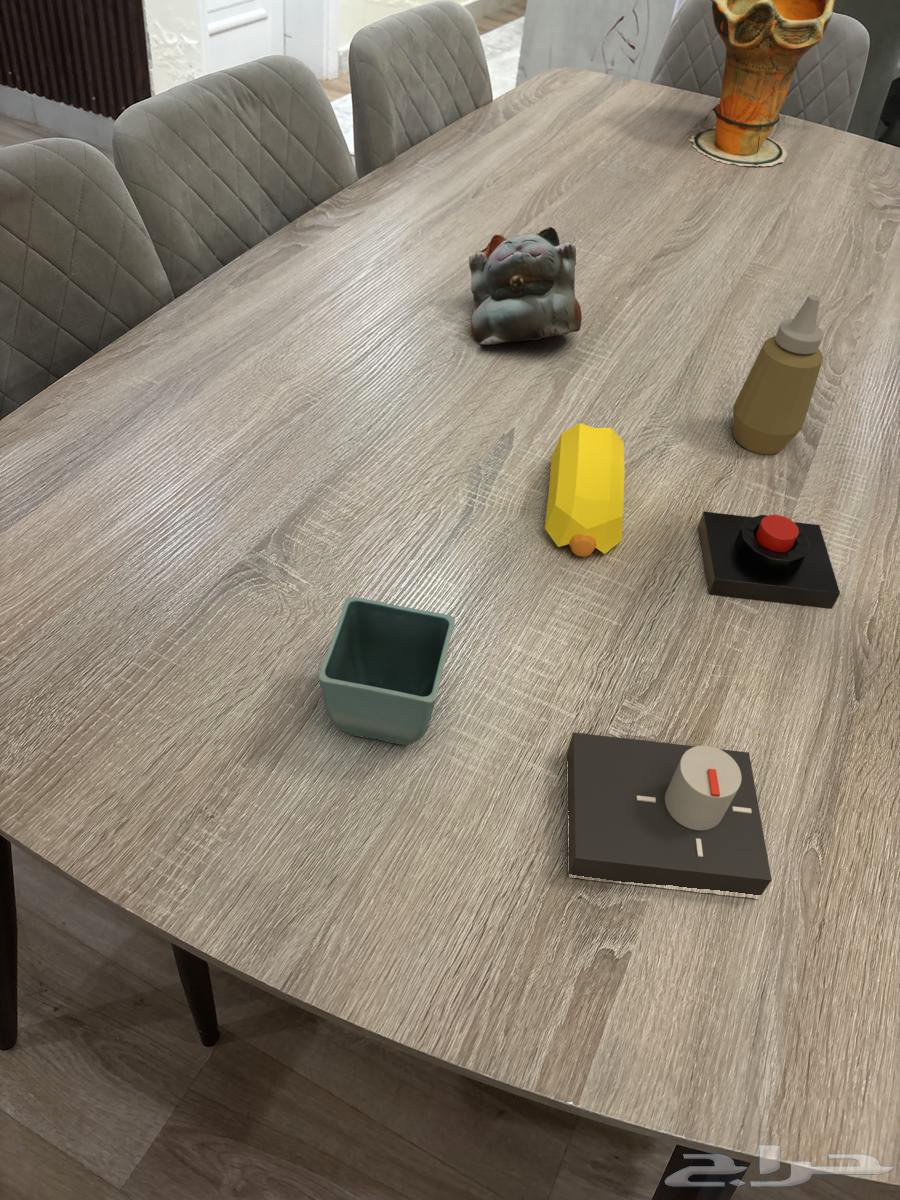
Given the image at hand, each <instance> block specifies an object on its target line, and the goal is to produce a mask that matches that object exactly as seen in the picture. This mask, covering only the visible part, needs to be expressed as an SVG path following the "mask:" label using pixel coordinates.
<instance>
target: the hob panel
mask: <svg viewBox="0 0 900 1200" xmlns="http://www.w3.org/2000/svg"><path fill="white" fill-rule="evenodd" d="M696 746H697V745H688V744H678V743H670V742H663V741H653V740H646V739H645V740H644V739H637V738H636V739H635V738H627V737H617V736H609V735H601V734H594V733H593V734H592V733H583V732H575V731H573V732H572V735H571V738H570V741H569V744H568V749H567V752H566V762H567V761H568V811H569V812H568V815H569V819H568V820H569V874H572V875H577V876H584V877H592V878H600V879H606V880H613V881H621V882H634V883H643V884H656V885H665V886H666V885H673V886H679V887H687V888H697V889H710V890H720V891H729V892H738V893H745V894H753V895H761V896H762V895H763V894H764V892H765V891H766V890H767V888H768V887H769V885H770V884H771V882H772V881H773V879H772V875H771V868H770V863H769V858H768V852H767V846H766V842H765V841H766V840H765V834H764V828H763V823H762V818H761V813H760V806H759V800H758V797H757V789H756V784H755V780H754V778H755V777H754V772H753V767H752V762H751V755H750V752H748V751H740V750H730V749H723V748H719V749H720V750H722V751H724V752H725V753H727V754H728V755H730V756H731V757H732V758H733V759H734V760H735V762H736V763H737V765H738V767H739V769H740V772H741V777H742V779H741V785H740V787H739V789H738V791H737V792H736V794H735V796H734V798H733V800H732V802H731V803H730V805H729V807H728V809H727V811H726V812H725V814H724V816H723V818H722V820H721V821H720V823H719V824H718V825H717V826H715V827H713V828H711V829H709V830H702V831H701V830H693V829H689V828H687V827H685V826H683V825H681V824H679V823H678V822H677V821H676V820H675V819H674V818H673V817H672V816H671V815H670V813H669V812H668V810H667V807H666V804H665V794H666V791H667V789H668V786H669V784H670V782H671V780H672V778H673V775H674V773H675V771H676V769H677V767H678V764H679V762H680V760H681V758H682V756H683V754H684V753H685V752H686V751H687V750H689V749H691V748H693V747H696Z"/></svg>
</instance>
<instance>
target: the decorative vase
mask: <svg viewBox="0 0 900 1200" xmlns="http://www.w3.org/2000/svg"><path fill="white" fill-rule="evenodd" d="M710 1H711V2H712V5H711V11H712V19H713V24H714V27H715V30H716V32H717V34H718V35H719V37H720V38H721V40H722V42H723V43H724V44H723V45H724V46H725V49H726V50H725V61H724V69H723V74H722V82H721V88H720V89H721V91H720V100H719V103H718V104H716V105H715V106H714V107H713V108H712V109H711V112H714V114H715V115H714V116H715V126H713V128H710V129H707V130H703V131H701V132H700V131H699V132H697V133H696V134H695V135H691V137H690V138H689V139H688V141H689V142H691V143H693V145H692V147H693V148H694V149H696V150H697V152H698V153H700V154H702V155H703V156H707V157H708V158H710V160H714V161H717V162H721V163H722V164H727V165H728V166H730V164H731V165H732V164H734V165H735V166H736V165H737V166H738V167H744V166H746V167H758V168H759V166H760V167H763V168H764V167H773V166H775V165H778V163H784V162H785V159H786V158H787V157H788V156H789V155H788V151H786V149H785V148H784V147H783V145H782V144H780V143H779V142H777V141H776V140H774V139H772V137H770V134H771V133H772V132H773V131H774V128H775V125H776V124H778V122H779V121H780V119H781V117H780V112H781V109H782V107H783V105H784V102H785V100H786V98H787V96H788V93H789V89H790V87H791V82H792V79H793V76H794V72H795V71H796V70H797V68H798V65H799V62H800V60H801V59H802V58H803V56H804V55H805V54H806V53H808V52H809V50H811V49H812V48H813V47H815V46H816V45H817V44H819V43H820V42H821V41H822V40H823V38H824V36H825V34H826V31H827V29H828V25H829V23H830V21H831V20H832V16H833V14H834V9H835V3H836V0H710ZM711 112H709V113H708V115H707V116H706V117H705V119H704V121H703V124H702V125H701V126H700V128H701V127H702V126H703V125H704V123H705V122H706V120H707V119H708V117H709V115H710V113H711Z"/></svg>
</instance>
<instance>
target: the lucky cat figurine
mask: <svg viewBox="0 0 900 1200" xmlns="http://www.w3.org/2000/svg"><path fill="white" fill-rule="evenodd" d="M468 259H469V260H468V266H469V271H470V275H471V279H470V285H471V287H470V290H471V293H472V298H473V305H474V306H473V307H474V309H473V311H474V312H473V313H472V316H471V321H470V324H471V325H470V331H471V334H472V336H473V338H474V340H476V342H477V343H478V346H480V347H482V346H486V345H499V344H504V343H510V342H518V341H520V342H521V341H536V340H537V341H538V340H540V339H544V338H550V337H557V336H562V335H563V336H564V335H567V334H570V333H577V332H580V330H581V326H582V319H583V314H582V309H581V305H580V302H579V301H578V300H577V298H576V289H575V287H576V284H575V283H576V265H577V250H576V246H575V245H574V244H573V243H571V242H565V243H561V244H560V237H559V235H558V232H557V230H556V229H555V228H554V227H552V226H549V227H546V228H545V229H542V230H540V231H539V232H537V233H535V234H534V233H530V232H525V233H522V234H517V235H513V236H510V237H508V238H507V237H505V236H504V235H503V234H494V235H492V237H491V239H490V242H488V244H487V246H486V247H485V248H484V249H482V250H479V251H477V250H476V252H475V253H474V254H473V255H469V257H468Z"/></svg>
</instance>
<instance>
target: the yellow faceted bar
mask: <svg viewBox="0 0 900 1200" xmlns="http://www.w3.org/2000/svg"><path fill="white" fill-rule="evenodd" d="M625 469H626V467H625V442H624V440H623V439H622V438H621V437H620V436H619V434H618V433H617V432H616V431H615V430H614V429H613V427H593V426H591V425H587V424H585V423H581V422H579V423H577V424H575V425H574V426H572V427H570V428H568V429H566V430H564V431H563V432H561V434H560V436H559V438H558V441H557V443H556V446H555V448H554V450H553V453H552V455H551V462H550V472H549V473H550V474H549V484H548V494H547V502H546V503H547V504H546V511H545V512H546V514H545V523H544V529H545V531H546V532H547V534H548V535H549V537H550V538H551V539H552V541H553V542H554V543H555V544H556V546H557V548H560V547H564V546H567V545H569V548H570V550H571V552H572V553H573V554H574V555H575V556H577V557H583V558H584V557H588V556H591V555H592V553H593V552H594V550H595V549H597V550H598V551H600V552H601V553H602V554H604V555H605V554H607V553H608V552H609V551H611V550H612V549H613V548H614V547H616V546H617V545H618V544H620V543H621V542H622V541H623V531H624V529H623V528H624V511H625V509H624V508H625V507H624V506H625V480H626V479H625V477H626V476H625V475H626V474H625V473H626V472H625Z"/></svg>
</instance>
